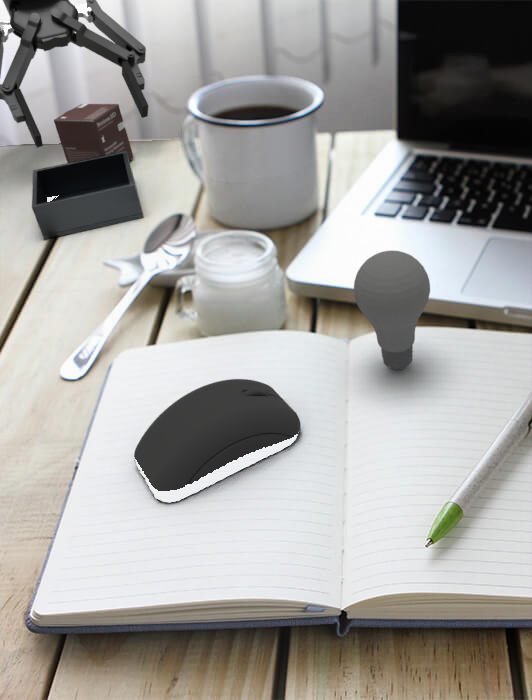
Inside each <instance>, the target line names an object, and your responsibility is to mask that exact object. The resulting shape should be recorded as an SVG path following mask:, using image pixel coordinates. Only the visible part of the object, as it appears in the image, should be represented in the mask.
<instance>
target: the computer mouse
mask: <svg viewBox="0 0 532 700" xmlns="http://www.w3.org/2000/svg"><path fill="white" fill-rule="evenodd" d="M301 428H302V427H301V420H300V417H299V415H298V413H297V412H296V411H295V410H294V409H293V408H292V407H291V406H290V405H289V404H288V402H287V401H286V400H285V399H284V398H282V396H281V395H280V394H279V393H278V392H277V391H276V390H275V389H274V388H273V387H272V386H271V385H269V384H267V383H264V382H261V381H257V380H254V379H247V378H231V379H224V380H218V381H214V382H211V383H208V384H206V385H203V386H200V387H198V388H196V389H194V390H192V391H190V392H188V393H186V394H185V395H182V396H181V397H180V398H179V399H177V400H175V401H174V402H173V403H171V405H169V406H168V407H167V408H166V409H164V410H163V411H162V412H161V413H160V414H159V415H157V417H156V418H155V419H154V420H153V422H152V423H151V424H150V425H149V427H148V428H146V431H144V434H143V435H142V436H141V438H140V440H139V441H138V443H137V445H136V447H135V449H134V453H133V458H134V457H135V459H136V460H137V462H138V464H139V465H140V467H141V468H142V471H144V474H145V475H146V477H147V478H148V479H149V482H150V483H151V485H152V486H153V487H154V488H155V489H157V490H158V491H170V490H177V489H180V488H183V487H185V485H187V484H192V483H193V482H194V481H198V480H199V479H200V478H201V477H204V476H206V475H207V474H208V473H212V472H213V471H214V470H216V469H219V468H220V467H222V466H225V465H226V464H227V463H229V462H232V461H233V460H237V459H238V458H239V457H243V456H244V455H246V454H249V453H251V452H255V451H256V450H259V449H262V448H263V447H265V448H266V447H268V446H272V445H273V444H277V443H279V442H282V441H284V440H287V439H290V438H292V437H294V435H296V434H298V432H299V431H300V432H301ZM300 432H299V433H300Z"/></svg>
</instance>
